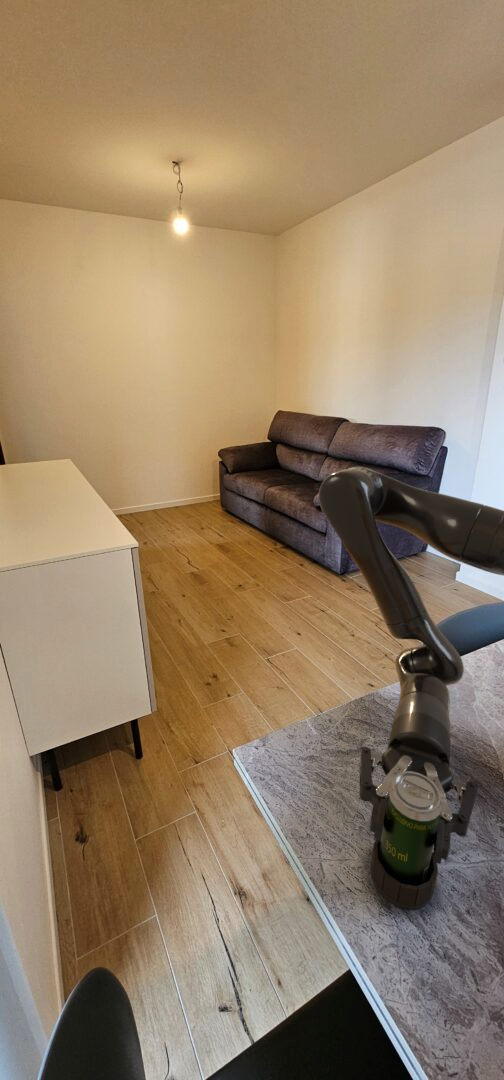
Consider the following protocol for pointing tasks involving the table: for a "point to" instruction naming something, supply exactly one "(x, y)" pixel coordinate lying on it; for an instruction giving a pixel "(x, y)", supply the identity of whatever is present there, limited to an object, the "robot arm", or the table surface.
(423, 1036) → the table surface
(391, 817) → the beer can
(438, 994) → the table surface
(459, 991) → the table surface
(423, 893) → the coaster dock
